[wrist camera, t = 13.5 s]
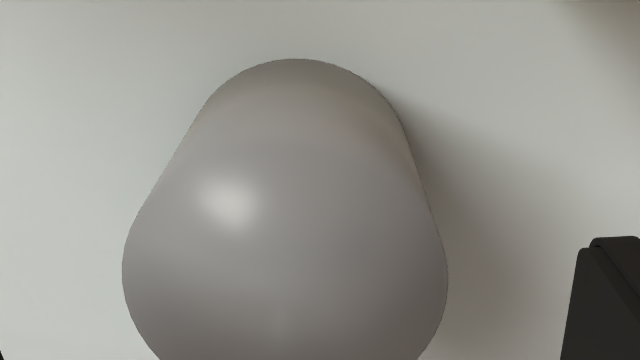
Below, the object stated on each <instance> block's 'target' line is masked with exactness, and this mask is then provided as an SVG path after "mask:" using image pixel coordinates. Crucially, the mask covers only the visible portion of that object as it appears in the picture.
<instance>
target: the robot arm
mask: <svg viewBox="0 0 640 360" xmlns="http://www.w3.org/2000/svg"><path fill="white" fill-rule="evenodd" d="M0 360H4V359H3V356H2V354H1V351H0ZM560 360H640V239H639V238H638V237H635V236H621V237H600V238H595V239H593V240H592V241H591V243H590V246H589V248H582V249H580V251H579V253H578V256H577V262H576V268H575V274H574V280H573V286H572V292H571V298H570V304H569V310H568V316H567V322H566V328H565V334H564V340H563V345H562V351H561V357H560Z"/></svg>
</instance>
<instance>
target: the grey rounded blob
mask: <svg viewBox="0 0 640 360" xmlns="http://www.w3.org/2000/svg"><path fill="white" fill-rule="evenodd" d="M122 284H123V290H124V295H125V300H126V303H127V306H128V309H129V312H130V315H131V318H132V320H133V322H134V324H135V326H136V328H137V330H138V332H139V333H140V335H141V336H142V338H143V339H144V341H145V342H146V344H147V345H148V346H149V348H150V349H151V350H152V351H153V352H154V353H155V355H156V356H157V357H158V358H159V359H160V360H416V359H417V358H418V357H419V356H420V355H421V353H422V352H423V351H424V350H425V349H426V347H427V345H428V344H429V342H430V341H431V339H432V337H433V336H434V334H435V332H436V330H437V328H438V325H439V323H440V321H441V319H442V315H443V311H444V308H445V304H446V299H447V290H448V271H447V262H446V258H445V253H444V248H443V245H442V242H441V239H440V236H439V233H438V230H437V227H436V224H435V222H434V219H433V216H432V213H431V210H430V207H429V204H428V201H427V198H426V195H425V192H424V189H423V186H422V183H421V180H420V177H419V174H418V171H417V169H416V166H415V163H414V160H413V157H412V154H411V151H410V148H409V145H408V142H407V139H406V136H405V133H404V131H403V128H402V125H401V123H400V121H399V119H398V117H397V115H396V114H395V112H394V110H393V109H392V107H391V106H390V105H389V103H388V102H387V101H386V99H385V98H384V97H383V96H382V95H381V94H380V93H379V92H378V91H377V90H376V89H375V88H374V87H373V86H371V85H370V84H369V83H368V82H366V81H365V80H364V79H362V78H361V77H359V76H357V75H355V74H354V73H352V72H350V71H348V70H346V69H343V68H341V67H339V66H336V65H333V64H329V63H326V62H322V61H316V60H309V59H283V60H276V61H271V62H267V63H263V64H259V65H256V66H254V67H252V68H249V69H247V70H244V71H242V72H241V73H239V74H237V75H236V76H234V77H232V78H231V79H229V80H228V81H227V82H226V83H224V84H223V85H222V86H220V87H219V88H218V89H217V90H216V91H215V92H214V94H213V95H212V96H211V97H210V98H209V99H208V100H207V102H206V103H205V105H204V106H203V107H202V109H201V110H200V112H199V114H198V115H197V117H196V119H195V120H194V122H193V124H192V125H191V127H190V129H189V130H188V132H187V133H186V135H185V137H184V138H183V140H182V142H181V143H180V145H179V147H178V148H177V150H176V152H175V153H174V155H173V156H172V158H171V160H170V161H169V163H168V165H167V166H166V168H165V170H164V171H163V173H162V175H161V176H160V178H159V179H158V181H157V183H156V184H155V186H154V188H153V189H152V191H151V193H150V194H149V196H148V198H147V199H146V201H145V202H144V204H143V206H142V207H141V209H140V211H139V212H138V214H137V216H136V218H135V220H134V222H133V224H132V226H131V228H130V231H129V234H128V237H127V240H126V244H125V247H124V254H123V261H122Z"/></svg>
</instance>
